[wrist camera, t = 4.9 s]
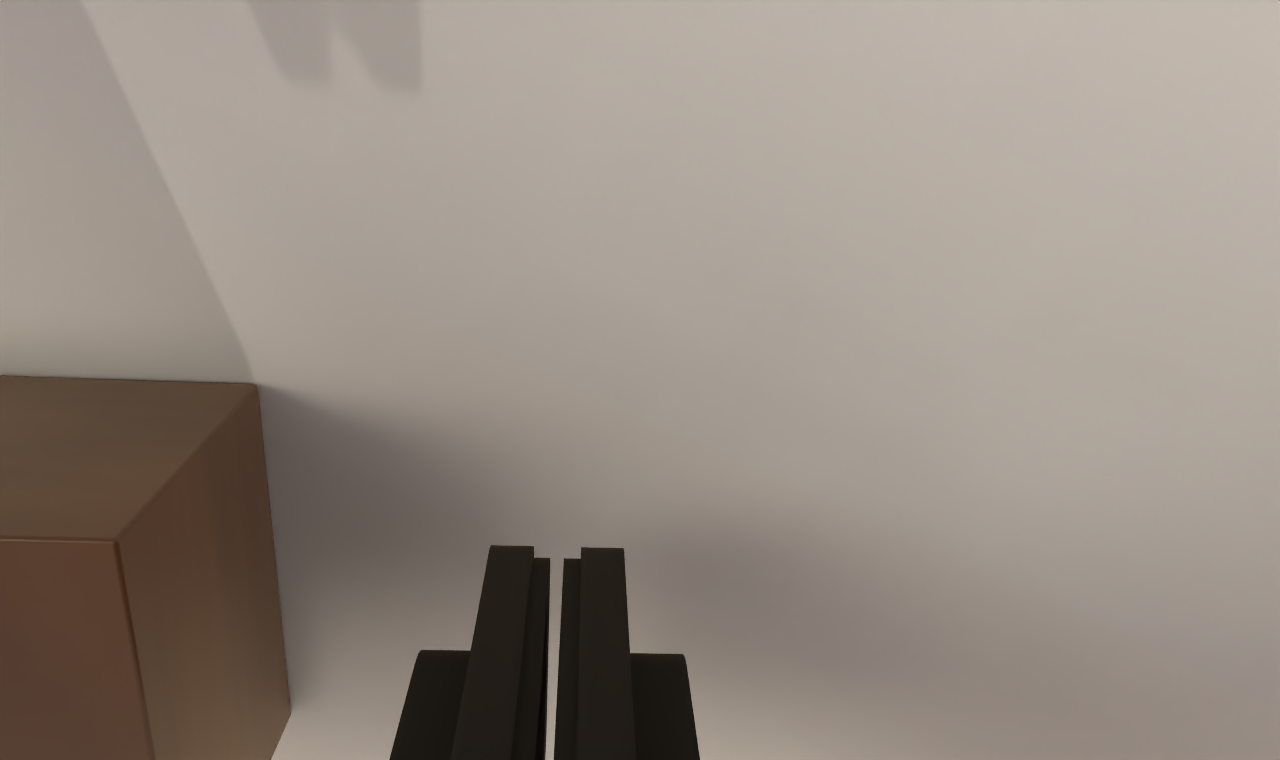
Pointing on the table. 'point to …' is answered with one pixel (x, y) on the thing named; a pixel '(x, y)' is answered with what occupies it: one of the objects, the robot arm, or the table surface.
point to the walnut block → (137, 573)
